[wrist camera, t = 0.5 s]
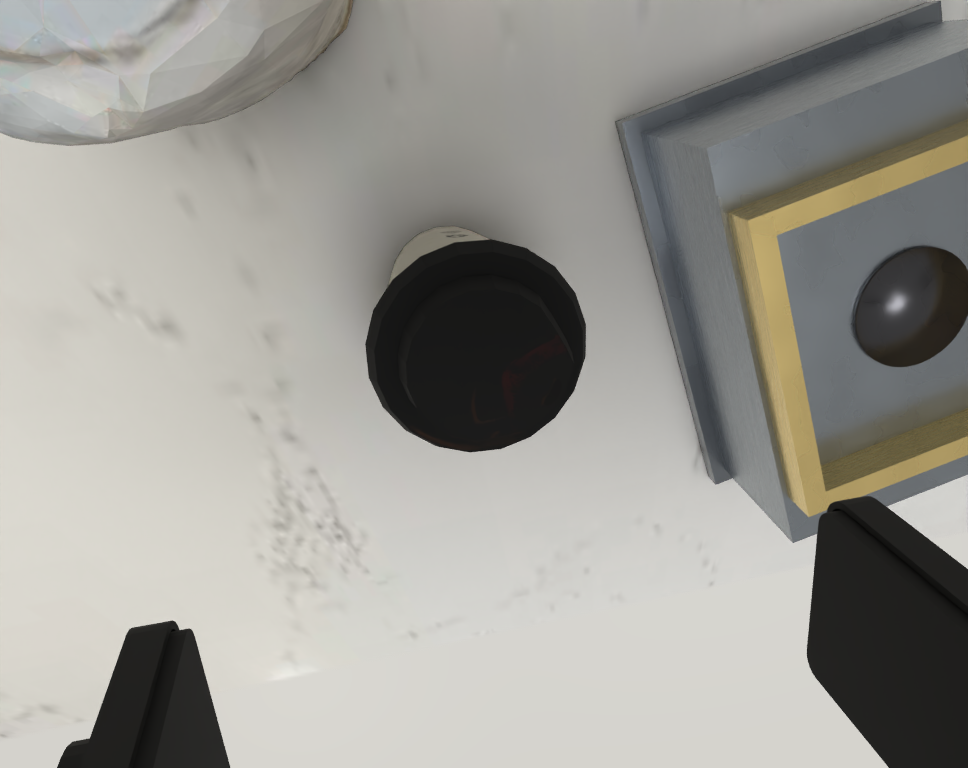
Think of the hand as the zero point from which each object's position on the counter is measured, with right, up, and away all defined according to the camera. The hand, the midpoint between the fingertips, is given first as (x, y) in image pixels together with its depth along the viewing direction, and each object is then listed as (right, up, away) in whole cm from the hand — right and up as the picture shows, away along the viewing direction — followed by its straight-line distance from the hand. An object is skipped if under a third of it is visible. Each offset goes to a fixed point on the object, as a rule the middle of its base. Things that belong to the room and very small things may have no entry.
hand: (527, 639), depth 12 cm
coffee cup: (-2, +8, +21) cm, 23 cm away
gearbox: (+14, +9, +23) cm, 28 cm away
